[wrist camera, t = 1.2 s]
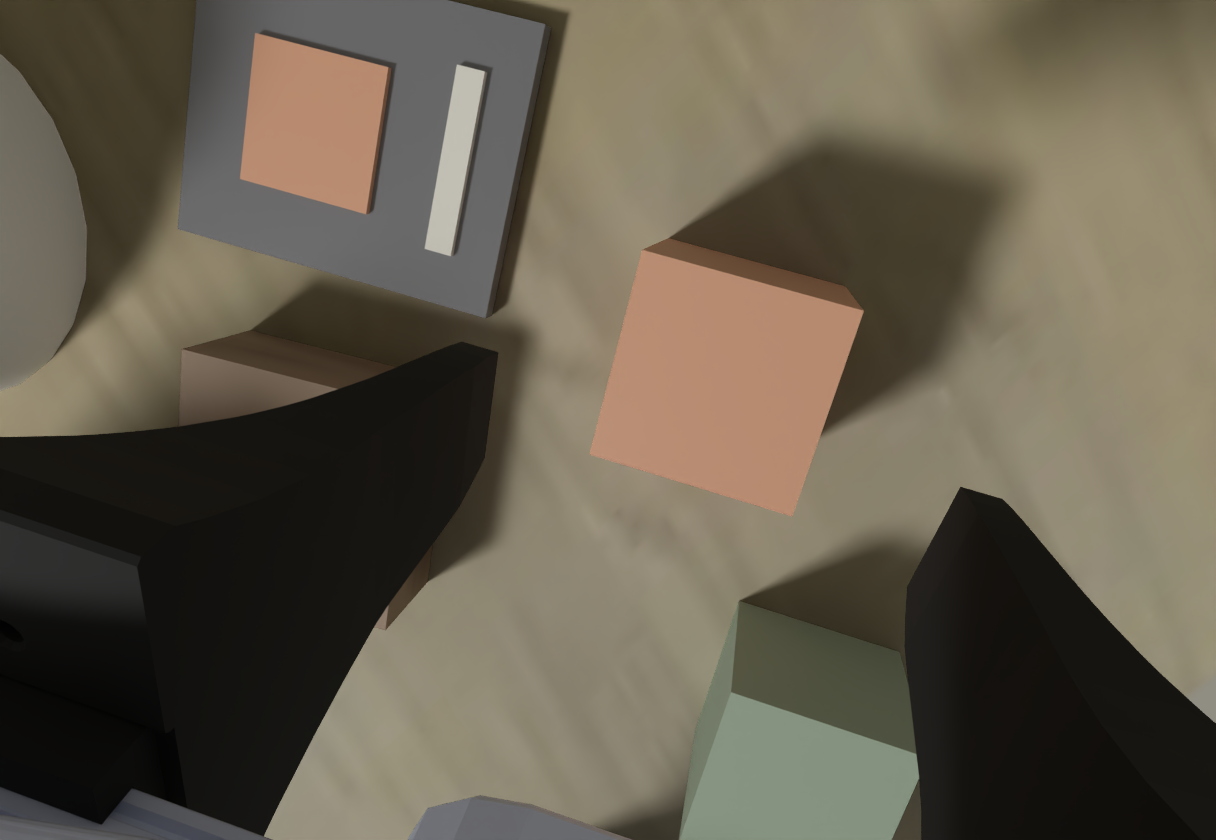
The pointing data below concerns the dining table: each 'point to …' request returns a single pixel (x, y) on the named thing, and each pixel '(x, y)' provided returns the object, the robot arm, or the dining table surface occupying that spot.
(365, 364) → the walnut base
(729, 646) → the sage block
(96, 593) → the robot arm
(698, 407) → the terracotta block
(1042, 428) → the dining table surface
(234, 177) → the card
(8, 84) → the honey pot
